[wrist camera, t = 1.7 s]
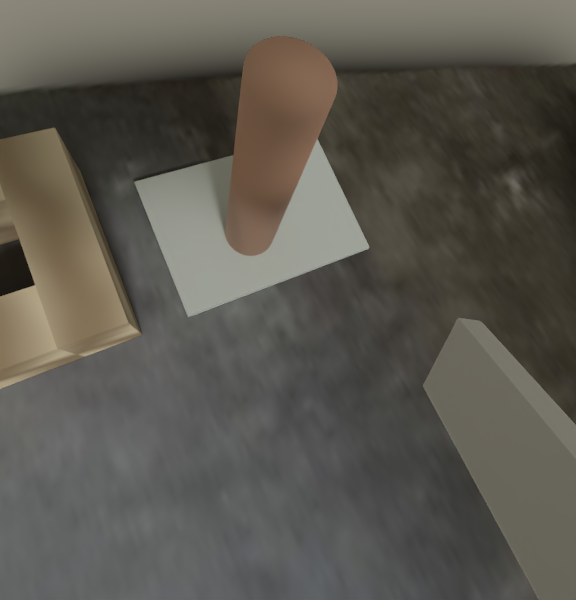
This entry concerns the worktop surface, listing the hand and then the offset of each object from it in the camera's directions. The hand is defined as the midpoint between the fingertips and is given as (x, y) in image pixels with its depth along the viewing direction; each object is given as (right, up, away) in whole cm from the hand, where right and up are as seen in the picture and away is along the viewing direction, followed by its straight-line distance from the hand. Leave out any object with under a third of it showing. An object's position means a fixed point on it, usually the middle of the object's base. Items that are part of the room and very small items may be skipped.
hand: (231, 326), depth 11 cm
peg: (-1, +5, +16) cm, 17 cm away
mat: (-1, +7, +17) cm, 18 cm away
